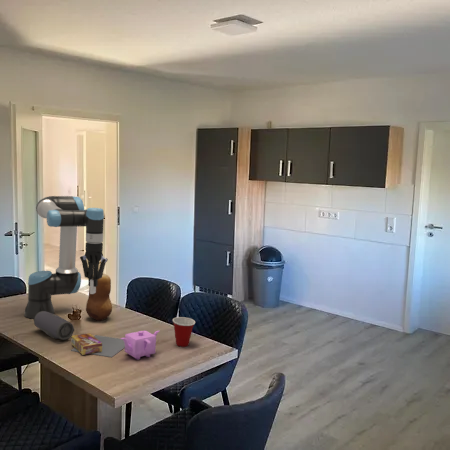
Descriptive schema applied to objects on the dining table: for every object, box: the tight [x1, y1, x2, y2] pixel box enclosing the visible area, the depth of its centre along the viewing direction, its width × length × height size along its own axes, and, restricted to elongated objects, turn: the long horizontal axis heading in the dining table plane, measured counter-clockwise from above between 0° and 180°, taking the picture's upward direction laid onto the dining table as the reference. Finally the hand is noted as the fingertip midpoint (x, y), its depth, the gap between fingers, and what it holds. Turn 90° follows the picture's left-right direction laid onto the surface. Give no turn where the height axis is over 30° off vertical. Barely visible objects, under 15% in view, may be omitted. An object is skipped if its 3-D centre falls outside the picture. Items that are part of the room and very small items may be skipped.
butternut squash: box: [85, 272, 113, 322], centre depth 265 cm, size 14×13×25 cm
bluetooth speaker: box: [33, 311, 75, 341], centre depth 237 cm, size 23×9×10 cm, turn 48°
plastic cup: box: [172, 316, 196, 348], centre depth 235 cm, size 11×11×12 cm
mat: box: [70, 334, 125, 358], centre depth 228 cm, size 20×22×1 cm
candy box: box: [71, 332, 102, 356], centre depth 223 cm, size 9×4×15 cm
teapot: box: [119, 330, 160, 360], centre depth 219 cm, size 15×13×11 cm
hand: (92, 293), depth 227 cm, fingers closed
